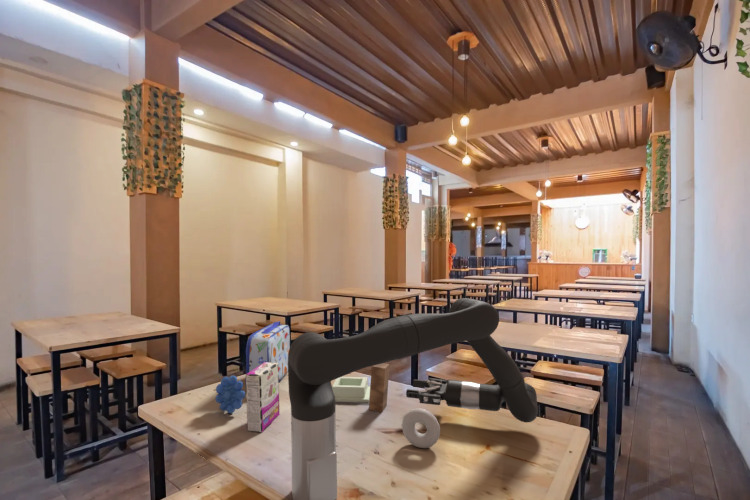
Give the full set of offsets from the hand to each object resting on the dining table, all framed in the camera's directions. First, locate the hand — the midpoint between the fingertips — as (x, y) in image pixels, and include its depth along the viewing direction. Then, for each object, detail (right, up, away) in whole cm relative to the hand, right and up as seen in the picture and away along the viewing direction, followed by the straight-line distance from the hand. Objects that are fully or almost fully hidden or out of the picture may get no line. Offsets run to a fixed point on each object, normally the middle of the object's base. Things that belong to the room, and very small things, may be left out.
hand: (409, 387), depth 114 cm
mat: (-19, -8, +14) cm, 25 cm away
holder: (-19, -8, +14) cm, 25 cm away
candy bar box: (-44, -9, -5) cm, 45 cm away
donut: (+1, -8, -19) cm, 21 cm away
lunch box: (-52, -8, +29) cm, 60 cm away
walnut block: (-10, -8, +4) cm, 13 cm away
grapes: (-56, -9, +2) cm, 57 cm away
